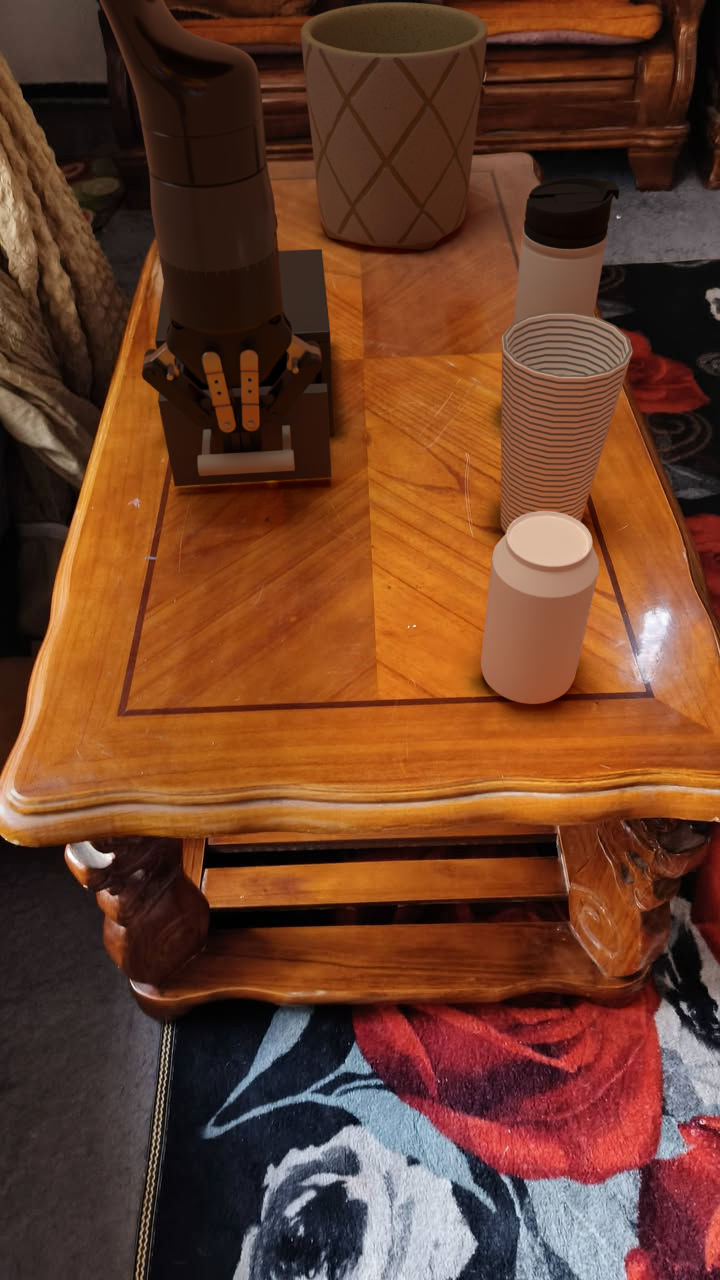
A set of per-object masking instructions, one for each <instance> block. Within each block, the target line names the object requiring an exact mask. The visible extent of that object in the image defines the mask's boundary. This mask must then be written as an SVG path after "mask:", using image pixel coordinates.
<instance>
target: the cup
mask: <svg viewBox="0 0 720 1280" xmlns="http://www.w3.org/2000/svg"><path fill="white" fill-rule="evenodd" d="M633 352H634V351H633V347H632V344H631V340H630V338H629V336H628V335H627V334H625V333H624V332H623V331H622V330H621V329H620V328H619V327H618V326H617V325H615V324H613V323H610V322H608V321H606V320H604V319H601V318H599V317H598V316H595V315H594V316H589V315H584V314H579V313H574V312H547V313H542V314H537V315H532V316H527V317H526V318H524V319H522V320H520V321H518V322H516V323H514V324H513V323H512V324H511V325H509V326H508V328H507V330H506V331H505V332H504V334H503V335H502V337H501V404H500V406H501V414H500V418H501V419H500V434H501V435H500V528H501V530H502V531H503V533H504V535H505V534H506V533H507V529H508V527H509V525H510V524H511V523H512V522H513V521H514V520H515V519H517V518H518V517H520V516H522V515H524V514H527V513H531V512H537V511H552V512H558V513H562V514H566V515H569V516H571V517H573V518H575V519H577V520H578V521H580V522H581V523H582V519H583V517H584V514H585V513H584V512H585V509H586V506H587V504H588V500H589V496H590V494H591V490H592V487H593V483H594V480H595V476H596V474H597V470H598V467H599V463H600V460H601V458H602V454H603V451H604V448H605V444H606V440H607V437H608V433H609V431H610V427H611V424H612V421H613V418H614V415H615V411H616V407H617V404H618V402H619V398H620V395H621V391H622V388H623V384H624V382H625V378H626V375H627V371H628V368H629V365H630V362H631V359H632V356H633Z"/></svg>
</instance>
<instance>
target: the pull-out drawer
mask: <svg viewBox="0 0 720 1280" xmlns="http://www.w3.org/2000/svg"><path fill="white" fill-rule="evenodd" d="M287 354H288V353H287V351H286V352H285V354H284V355H283V356H282V358H281V359H280V361H279V362H278V364H277V365H276V367H275V368H274V369H273V371H272V372H271V374H270V375H269V377H268V378H267V379H266V380H265V381H263V382H262V383H260V384H259V398H261V397H264V396H266V395H267V393H268V392H269V390H270V389H271V388H272V386H273V385H274V384H275V382H276V381H277V380H278V378H279V377H280V376H281V375H282V373H283V372H284V371H285V369H286V368H287V363H286V357H287ZM176 359H177V358H176ZM177 360H178V359H177ZM178 361H179V360H178ZM179 363H180V371H181V372H182V373H183V374H185V375H186V376H187V377H188V378H189V379H190V380H191V381H192V382H193V383H195V384H196V385H197V386H198V387H199V388H200V389H201V390H202V391H203V392H204V393H206V394H207V395H208V396H209V397H210V399H212V398H211V394H210V390H209V386H208V385H205V384H203V383H202V382H201V381H199V380H198V379H197V378H196V377H195V376H194V375H193V374H192V373H191V372H190V371H189V370H188V369H187V368H186V367H185V366H184V365H183V364H182V363H181V362H180V361H179ZM232 389H233V394H234V398H235V403H236V413H237V416H238V415H240V419H241V415H242V398H241V387H237V386H233V387H232ZM157 397H158V399H157V402H158V408H159V414H160V418H161V424H162V428H163V433H164V439H165V444H166V450H167V454H168V455H167V456H168V460H169V464H170V465H169V466H170V469H171V475H172V479H173V480H172V481H173V485H174V487H187V486H206V485H207V486H208V485H221V484H223V485H224V484H238V483H239V484H240V483H241V484H242V483H256V482H271V481H272V482H273V481H275V482H277V481H291V480H307V479H309V480H310V479H326V478H328V479H329V478H332V458H331V457H332V456H331V438H330V437H331V435H330V434H329V413H328V392H327V384H326V383H324V384H316V377H315V378H314V379H313V381H312V382H311V383H310V385H309V386H308V387H307V388H306V390H305V391H304V392H303V393H302V395H301V396H300V397H299V398H298V400H297V401H296V402H295V404H294V405H293V406H292V407H291V409H290V410H289V411H288V412H287V414H286V415H285V416H284V417H283V419H282V420H281V421H279V422H277V423H273V422H270V421H268V422H265V423H264V424H262V425H261V427H260V429H261V438H262V452H246V453H228V454H224V452H223V445H222V438H221V432H220V430H219V429H218V428H217V427H216V426H213V425H209V424H208V425H206V426H198V425H196V424H195V423H193V422H192V421H191V420H190V419H189V418H188V417H187V416H185V415H184V414H183V413H182V412H181V411H180V410H179V409H177V408H176V407H175V406H174V405H173V404H172V403H171V402H169V401H168V400H167V399H166V398H165V397H164V396H162V395H161V394H160V393H159V392H158V396H157Z"/></svg>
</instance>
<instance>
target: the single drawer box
mask: <svg viewBox="0 0 720 1280" xmlns="http://www.w3.org/2000/svg"><path fill="white" fill-rule="evenodd" d="M278 254H279V267H280V280H281V292H282V305H283V311H284V314H285V316H286V317H287V319H288V320H289V322H290V324H291V327H292V334H293V335H295V336H297V337H298V338H300V339H301V340H303V341H304V342H308V341H315V342H317V343H318V344H319V345H320V351H321V359H322V361H321V362H322V369H321V370H320V372H319V373H318V374H317V376H316V384H324V383H326V384H327V392H328V413H329V434H330V436H335V416H334V415H335V414H334V413H335V412H334V389H333V368H332V346H331V344H332V343H331V329H330V317H329V309H328V307H329V306H328V298H327V288H326V277H325V268H324V258H323V257H324V256H323V250H322V248H315V249H314V248H313V249H293V250H291V249H290V250H278ZM169 324H170V316H169V310H168V304H167V298H166V292H165V286H164V282H163V284H162V290H161V297H160V304H159V311H158V318H157V326H156V330H155V331H156V334H155V339H154V342H155V349H156V350H157V349H158V348H160V347H161V346H162V345H163V344H164V343H165V342H166V336H167V329H168V326H169Z"/></svg>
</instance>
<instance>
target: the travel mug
mask: <svg viewBox="0 0 720 1280" xmlns="http://www.w3.org/2000/svg"><path fill="white" fill-rule="evenodd" d="M614 198H615V200H619V198H620V189H619V187H618V184H617V182H616V181H615V180H613V179H612V180H611V179H610V180H609V179H608V180H607V179H606V180H605V179H604V180H603V179H599V178H595V177H590V176H565V177H559V178H555V179H551V180H548V181H545V182H543V183H541V184H539V185H536V186H535V187H534V188H532V189H531V190H530V192H529V194H528V198H526V202H525V203H526V205H525V213H524V217H525V219H524V221H523V227H522V238H521V244H520V245H521V246H520V252H519V253H520V254H519V261H518V271H517V272H518V273H517V281H516V291H515V299H514V300H515V301H514V309H513V319H512V324H514V323H516V322H518V321H520V320H522V319H524V318H526V317H527V316H532V315H537V314H542V313H547V312H574V313H579V314H584V315H589V316H594V317H595V311H596V304H597V299H598V292H599V286H600V282H601V281H600V280H601V274H602V270H603V264H604V258H605V252H606V242H607V239H608V235H609V234H608V229H609V223H610V217H611V210H612V203H613V199H614Z"/></svg>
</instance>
